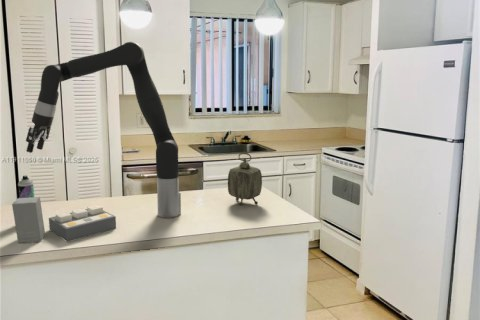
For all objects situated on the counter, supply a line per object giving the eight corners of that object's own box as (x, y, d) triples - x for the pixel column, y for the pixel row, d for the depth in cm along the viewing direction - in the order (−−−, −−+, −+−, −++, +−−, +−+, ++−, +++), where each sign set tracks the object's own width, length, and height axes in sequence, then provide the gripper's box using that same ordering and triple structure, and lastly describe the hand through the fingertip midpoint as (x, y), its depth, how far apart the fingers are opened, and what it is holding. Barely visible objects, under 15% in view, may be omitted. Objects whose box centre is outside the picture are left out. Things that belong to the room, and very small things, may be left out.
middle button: (82, 215, 178) (82, 208, 178) (88, 218, 175) (87, 211, 175) (72, 217, 175) (71, 210, 175) (77, 220, 172) (76, 213, 172)
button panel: (96, 217, 187) (96, 206, 186) (116, 228, 176) (115, 215, 175) (49, 229, 173) (48, 217, 172) (67, 241, 162) (66, 228, 161)
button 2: (97, 211, 183) (97, 204, 182) (103, 214, 180) (102, 207, 179) (87, 214, 180) (87, 207, 179) (92, 216, 177) (92, 209, 176)
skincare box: (45, 235, 168) (42, 195, 164) (40, 243, 161) (36, 201, 157) (21, 236, 166) (18, 196, 163) (15, 244, 160) (11, 202, 156)
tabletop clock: (261, 204, 209) (262, 153, 203) (251, 209, 201) (252, 156, 196) (235, 199, 216) (236, 149, 211) (225, 203, 209) (226, 152, 204)
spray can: (25, 220, 183) (20, 174, 178) (38, 220, 183) (34, 174, 179) (19, 225, 177) (15, 177, 173) (33, 225, 178) (29, 177, 173)
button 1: (67, 219, 174) (66, 211, 173) (72, 222, 171) (71, 214, 170) (56, 221, 171) (55, 214, 170) (61, 224, 168) (60, 217, 167)
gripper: (44, 117, 170) (34, 156, 173) (60, 114, 184) (51, 150, 187) (26, 111, 170) (16, 150, 173) (43, 109, 184) (34, 145, 187)
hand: (34, 150), depth 180 cm, fingers open, 8 cm apart
